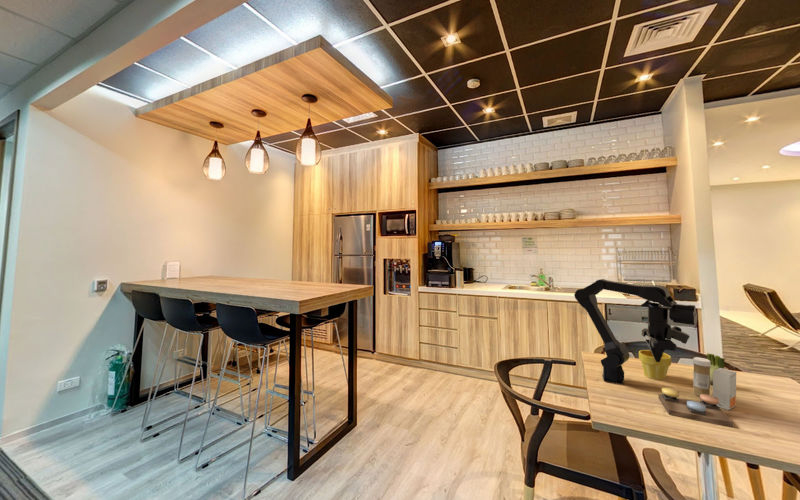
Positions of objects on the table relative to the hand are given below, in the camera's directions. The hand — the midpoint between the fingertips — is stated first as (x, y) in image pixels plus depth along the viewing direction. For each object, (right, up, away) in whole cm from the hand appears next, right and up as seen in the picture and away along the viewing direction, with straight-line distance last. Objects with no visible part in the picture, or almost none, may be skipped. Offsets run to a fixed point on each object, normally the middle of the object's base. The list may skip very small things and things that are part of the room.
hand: (657, 361), depth 112 cm
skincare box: (+16, -12, -8) cm, 22 cm away
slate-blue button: (0, -10, -15) cm, 18 cm away
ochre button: (-2, -10, -7) cm, 12 cm away
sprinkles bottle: (+15, -12, -1) cm, 20 cm away
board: (+1, -12, -12) cm, 17 cm away
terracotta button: (+7, -10, -12) cm, 17 cm away
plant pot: (+11, -12, +15) cm, 22 cm away
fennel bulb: (+29, -12, +7) cm, 32 cm away
